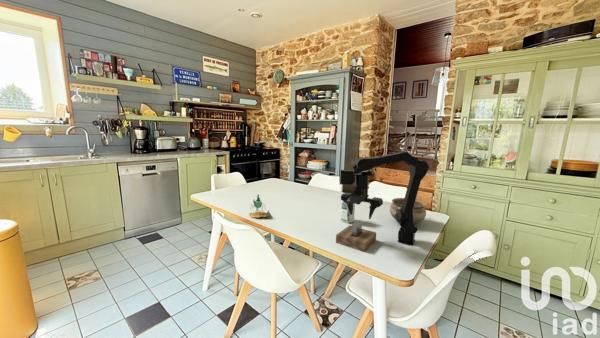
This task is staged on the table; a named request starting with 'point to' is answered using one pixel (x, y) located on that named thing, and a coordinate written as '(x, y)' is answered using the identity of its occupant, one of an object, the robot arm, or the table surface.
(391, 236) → the table surface
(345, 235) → the post block
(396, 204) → the cooking pot
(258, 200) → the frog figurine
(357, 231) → the upright grey stone slab
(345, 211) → the syrup box
